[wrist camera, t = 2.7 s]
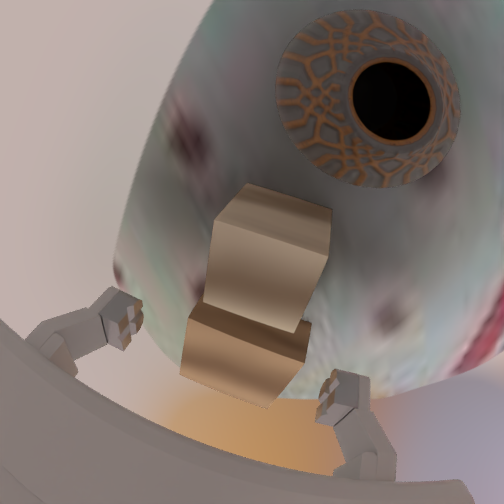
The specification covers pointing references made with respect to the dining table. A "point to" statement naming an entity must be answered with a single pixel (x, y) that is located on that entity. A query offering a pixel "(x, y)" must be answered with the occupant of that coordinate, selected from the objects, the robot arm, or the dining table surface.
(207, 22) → the dining table surface
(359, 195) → the dining table surface
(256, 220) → the maple cube
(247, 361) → the walnut block
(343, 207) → the dining table surface
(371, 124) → the vase
